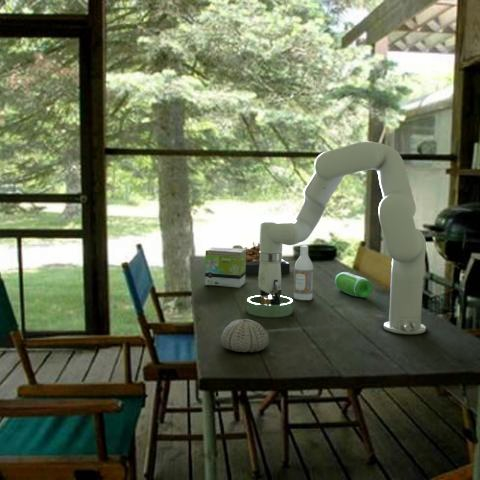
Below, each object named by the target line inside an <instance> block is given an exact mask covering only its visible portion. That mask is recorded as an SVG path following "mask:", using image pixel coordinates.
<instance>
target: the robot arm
mask: <svg viewBox="0 0 480 480" xmlns="http://www.w3.org/2000/svg"><path fill="white" fill-rule="evenodd" d="M313 168H314V173H313V174H312V176H311V178H310V179H309V181H308V182H307V185H306V186H305V187H304V189H303V197H304V198H303V203H302V206H301V209H300V210H299V211H298V213H297V214H296V216H295V218H294V219H293V220H290V221H287V222H282V221H280V220H273V219H272V220H270V219H269V220H262V221H261V222H260V225H259V243H260V261H259V262H260V265H259V274H258V277H257V278H258V279H257V287H258V289H259V296H260V304H261V296H269V295H271V298H272V299H271V300H270V305H280V299H281V297H280V296H282V291H283V290H282V273H281V265H280V263H281V262H282V260H283V245H285V246H295V245H298V244H299V243H303V242H305V241H306V240H308V239H309V238H310V236H311V235H312V233H313V232H314V230H315V228H316V227H317V225H318V224H319V222H320V220H321V219H322V216H323V214H324V211H325V209H326V206H327V204H328V202H329V201H330V199H331V197H332V196H333V194H334V193H335V191H336V190H337V189H338V187H339V185H340V184H341V182H342V180H343V179H344V177H345V176H348V175H352V174H355V173H359V172H363V171H370V170H373V171H375V172H376V173H377V175H378V181H379V187H380V189H381V194H382V199H381V201H380V202H379V205H378V219H379V224H380V227H381V228H380V229H381V233H382V237H383V241H384V245H385V249H386V251H387V254H388V255H389V257H390V258H391V269H390V288H389V310H388V311H389V312H388V313H389V314H388V321H386V322H384V323H383V329H384V330H385V331H387V332H391V333H394V334H400V335H420V334H423V333H425V332H426V331H427V327H426V325H425V324H423V323H422V312H423V311H422V309H423V308H422V307H423V290H424V274H425V273H424V271H425V260H426V253H427V252H426V251H427V241H426V237H425V235H424V234H423V231H421V230H420V229H418V228H416V223H415V220H414V216H415V214H416V212H417V206H416V203H415V198H414V196H413V191H412V188H411V187H412V186H411V184H410V179H409V176H408V172H407V168H406V165H405V162H404V159H403V158H402V156H401V154H400V153H399V152H398V151H397V150H396V149H395V148H393V147H392V146H390V145H387V144H385V143H382V142H376V141H367V140H363V141H358V142H355V143H351V144H348V145H345V146H344V145H343V146H341V147H338V148H333V149H330V150H327V151H323V152H322V153H320V154H318V156H316V159H315V160H314V165H313Z"/></svg>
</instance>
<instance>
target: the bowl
mask: <svg viewBox="0 0 480 480" xmlns="http://www.w3.org/2000/svg"><path fill="white" fill-rule="evenodd" d="M280 297H281V299H280V305H263V304H260V295H254V296H250V297H248V298H247V303H246V304H247V306H246V307H247V313H248V314H249V315H251V316H255V317H263V318H283V317H287V316H290V315H292V314H293V311H294V310H293V309H294V300H293V299H292V298H291V297H287V296H283V295H281V296H280Z"/></svg>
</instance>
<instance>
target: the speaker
mask: <svg viewBox="0 0 480 480" xmlns="http://www.w3.org/2000/svg"><path fill="white" fill-rule="evenodd" d="M334 285H335V286H336V287H337V289H339V290H340V291H341V292H343V293H345V294H347V295H350V296H352V297H357V298H361V299H363V298H367V297H369V296H370V295H371V293H372V292H373V285H372V283H371V282H370V281H369V280H368V279H367V278H365V277H362V276H359V275H356V274H353V273H350V272H348V271H347V272H346V271H343V272H339V273H337V274H336V275H335V278H334Z"/></svg>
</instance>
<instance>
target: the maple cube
mask: <svg viewBox="0 0 480 480" xmlns="http://www.w3.org/2000/svg"><path fill="white" fill-rule="evenodd" d="M271 299H272V298H271V294H269V296H261V304H263V305H270V300H271Z"/></svg>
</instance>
